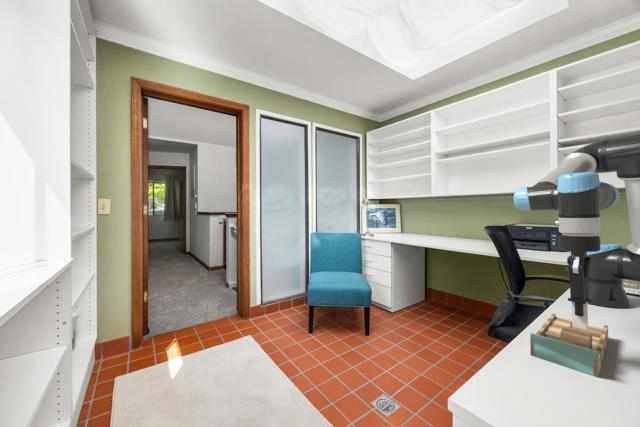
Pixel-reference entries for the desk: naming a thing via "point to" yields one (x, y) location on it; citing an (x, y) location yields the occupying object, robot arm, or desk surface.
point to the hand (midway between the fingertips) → (580, 327)
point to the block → (576, 337)
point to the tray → (569, 346)
